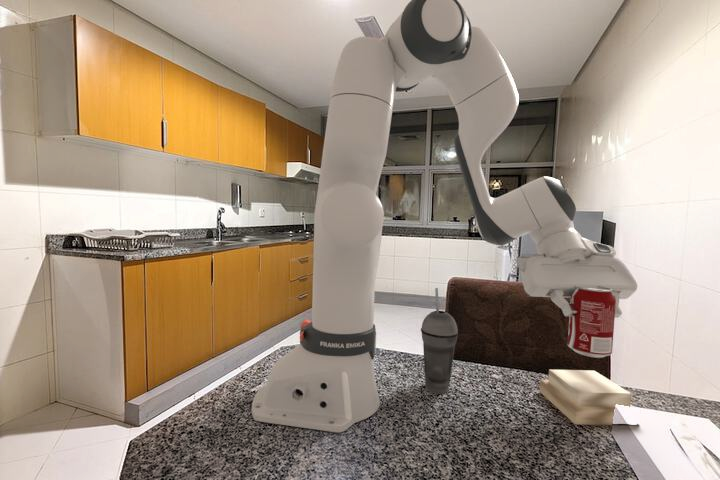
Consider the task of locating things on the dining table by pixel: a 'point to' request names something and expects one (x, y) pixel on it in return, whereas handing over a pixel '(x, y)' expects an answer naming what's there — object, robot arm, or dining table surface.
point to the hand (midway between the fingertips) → (593, 315)
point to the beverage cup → (438, 348)
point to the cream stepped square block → (584, 395)
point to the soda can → (592, 321)
